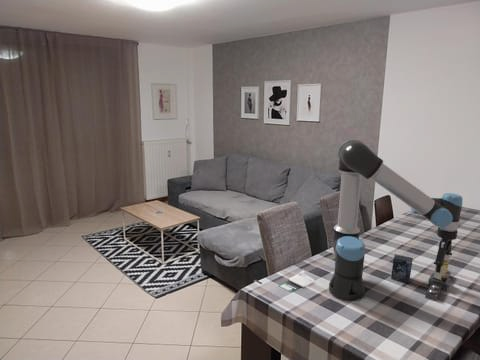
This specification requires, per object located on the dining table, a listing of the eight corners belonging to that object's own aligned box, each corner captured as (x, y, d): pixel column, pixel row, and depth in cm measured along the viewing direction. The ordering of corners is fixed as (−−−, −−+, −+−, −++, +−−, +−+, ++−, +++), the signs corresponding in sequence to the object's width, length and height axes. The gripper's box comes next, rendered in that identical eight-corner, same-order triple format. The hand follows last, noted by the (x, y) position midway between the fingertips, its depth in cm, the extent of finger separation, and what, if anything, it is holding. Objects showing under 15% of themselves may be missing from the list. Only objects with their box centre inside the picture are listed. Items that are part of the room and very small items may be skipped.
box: (390, 278, 163) (393, 258, 161) (392, 273, 168) (394, 253, 166) (409, 283, 160) (412, 262, 157) (410, 278, 164) (412, 257, 162)
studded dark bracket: (440, 302, 144) (441, 295, 143) (420, 296, 149) (421, 288, 148) (454, 277, 166) (455, 270, 165) (437, 272, 170) (438, 266, 170)
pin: (443, 288, 155) (447, 263, 153) (433, 285, 158) (438, 261, 155) (444, 285, 158) (449, 261, 156) (435, 282, 161) (440, 258, 158)
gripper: (451, 238, 140) (444, 286, 145) (463, 223, 159) (455, 266, 163) (431, 234, 145) (424, 280, 150) (444, 219, 164) (438, 261, 168)
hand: (440, 273), depth 157 cm, fingers open, 13 cm apart
